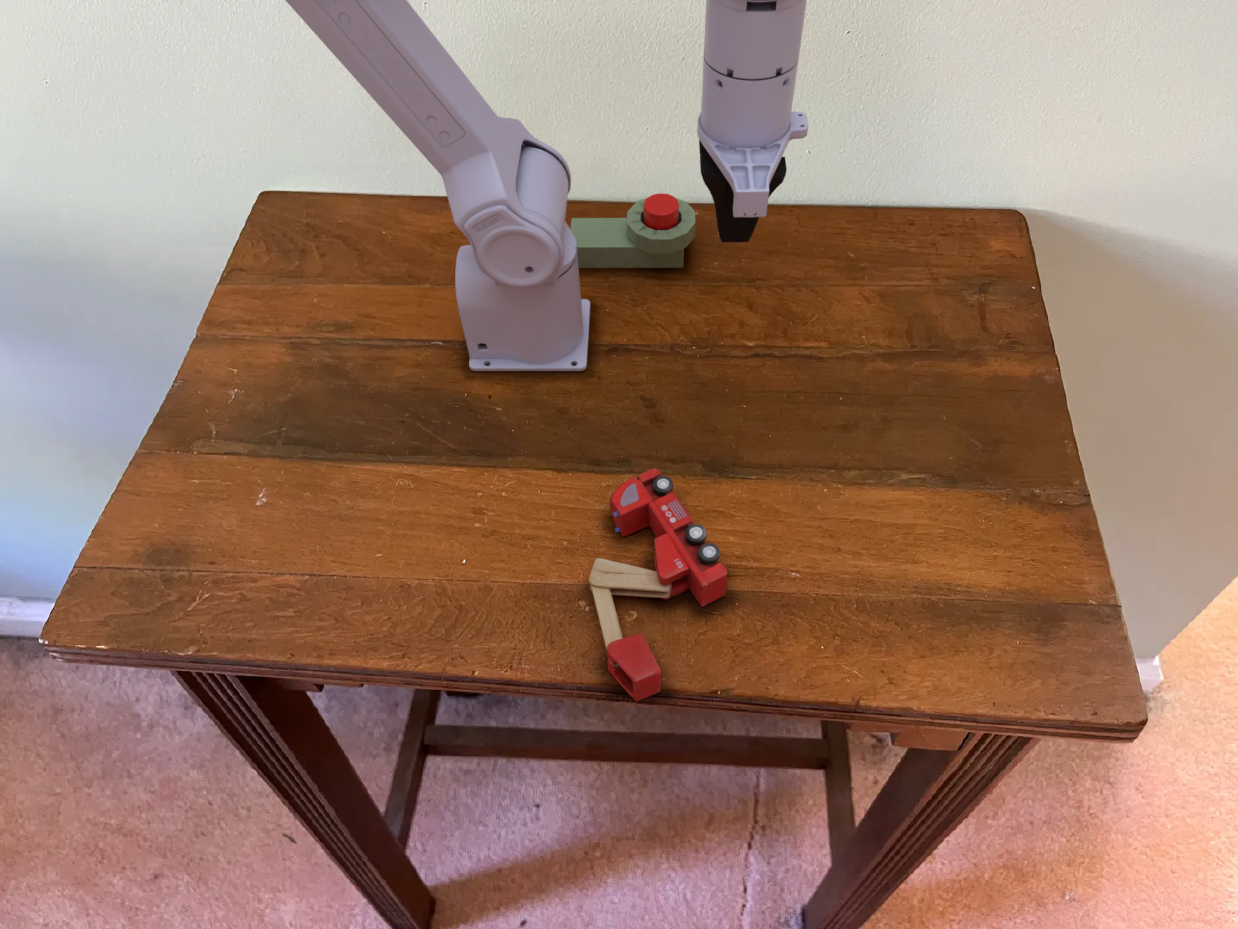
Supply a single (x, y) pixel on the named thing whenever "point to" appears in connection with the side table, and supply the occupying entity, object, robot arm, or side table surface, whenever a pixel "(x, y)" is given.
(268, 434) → the side table surface
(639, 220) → the button box
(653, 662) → the toy fire truck
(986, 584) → the side table surface
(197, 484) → the side table surface
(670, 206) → the button
